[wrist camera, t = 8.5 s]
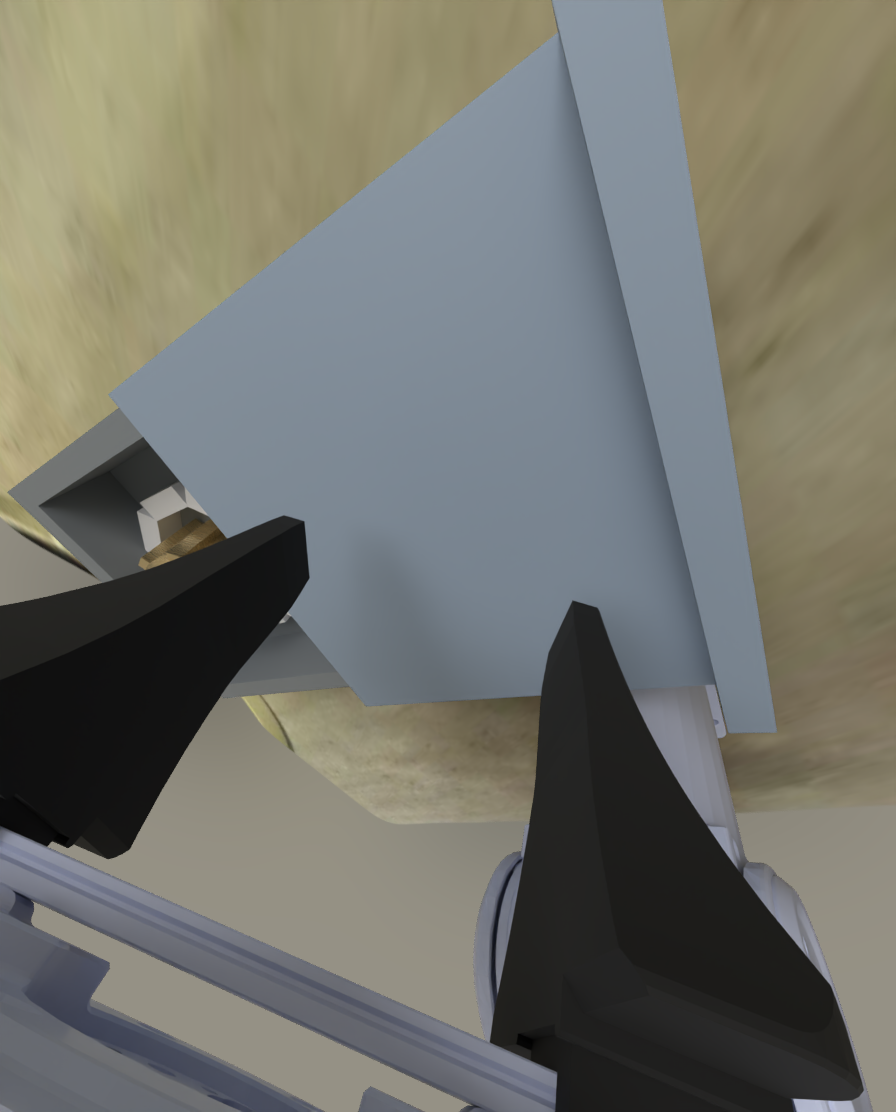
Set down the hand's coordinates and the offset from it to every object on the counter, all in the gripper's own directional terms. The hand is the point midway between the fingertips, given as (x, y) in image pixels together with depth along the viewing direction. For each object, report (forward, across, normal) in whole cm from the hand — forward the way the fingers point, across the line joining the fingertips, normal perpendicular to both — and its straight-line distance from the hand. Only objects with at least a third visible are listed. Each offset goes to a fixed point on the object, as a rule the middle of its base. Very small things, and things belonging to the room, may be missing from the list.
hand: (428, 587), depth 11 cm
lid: (+4, +1, +1) cm, 4 cm away
